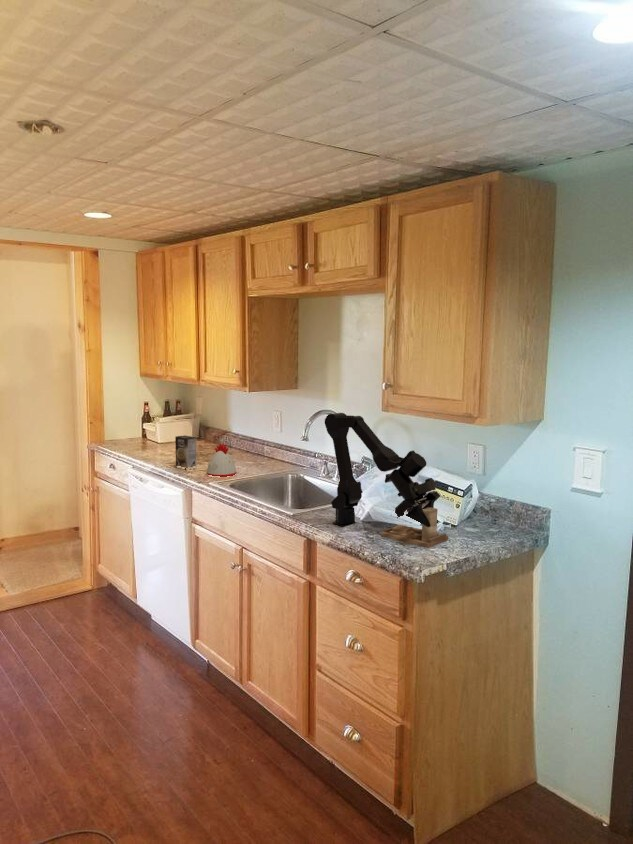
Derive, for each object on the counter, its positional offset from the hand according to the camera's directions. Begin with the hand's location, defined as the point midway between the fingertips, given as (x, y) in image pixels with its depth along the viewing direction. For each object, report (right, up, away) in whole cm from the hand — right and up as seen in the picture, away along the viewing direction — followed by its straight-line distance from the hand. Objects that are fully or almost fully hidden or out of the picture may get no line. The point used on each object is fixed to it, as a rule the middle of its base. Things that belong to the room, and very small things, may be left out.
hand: (433, 525), depth 205 cm
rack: (-5, -6, +5) cm, 10 cm away
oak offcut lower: (-9, -5, +8) cm, 13 cm away
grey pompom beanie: (-82, +7, +106) cm, 135 cm away
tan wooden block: (-1, -5, +2) cm, 6 cm away
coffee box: (-102, +9, +122) cm, 159 cm away
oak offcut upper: (-9, -3, +8) cm, 12 cm away
